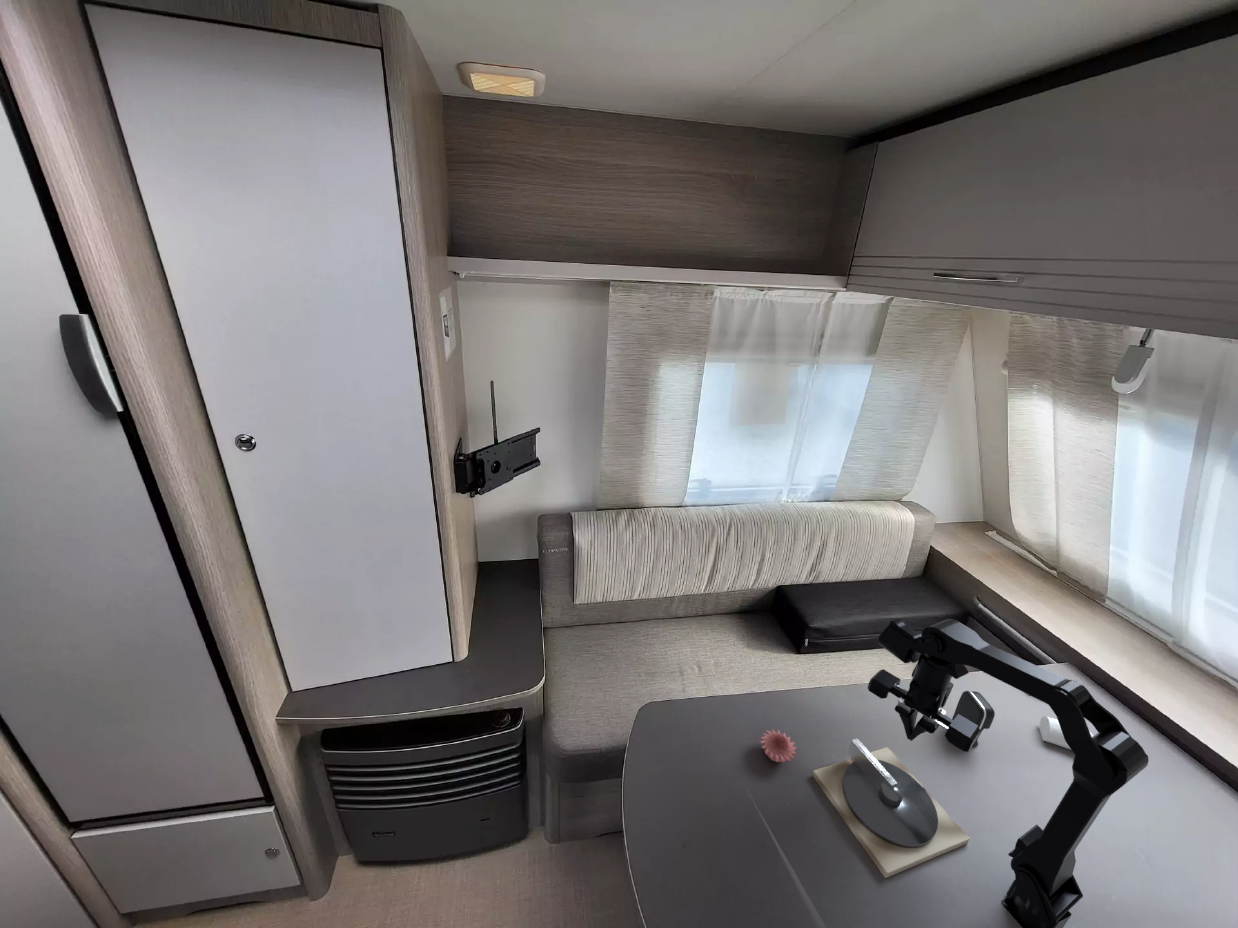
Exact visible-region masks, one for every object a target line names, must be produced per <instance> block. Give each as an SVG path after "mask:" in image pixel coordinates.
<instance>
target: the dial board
mask: <svg viewBox="0 0 1238 928" xmlns="http://www.w3.org/2000/svg"><path fill="white" fill-rule="evenodd" d="M869 752H870V753H871V754H872V755H873V756H874V757H875V758H876V759H877V760H881V761H884V762H887V763H890V764H892V765H894V766H896V767H898V768H900V769H901V770H903V771H905V772H906V773H907V774H909V775H910V776H911V777H912V778H914V779H915V780H916V781H917V782H918V783H919V784H920V785H921V786H922V787H923V789H924V790H925V791H926V792H927V794H928V795H929V797H930V798H931V800H932V802H933V804H934V806H935V809H936V811H937V816H938V828H937V831H936V833H935V835H934V837H933V839H932V840H931V841H930V842H929V843H928V844H926V845H925V846H922V847H918V848H905V847H900V846H896V845H894V844H891V843H889V842H886V841H884V840H882V839H881V838H879V837H878V836H876V835H875V834H873V833H872V832H870V831H869V830H868V829H867V828H866V827H865V826H864V825H863V824H862V823H861V822H860V821H859V820H858V819H857V818H856V817H855V815H854V814H853V813H852V811H851V810H850V808H849V806H848V804H847V802H846V800H845V797H844V794H843V789H842V781H843V777H844V774H845V771H846V769H847V767H848V766H849V765H850V764H851V763H853V762H854V761H853V760H852V758H851V757H850V758H849V759H846V760H843V761H839V762H837V763H833V764H830V765H827V766H824V767H820V768H816V769H814V770H812V771H813V772H812V775H811V776H812V777H813V779H814V780H815V782H816V783H817V785H818V786H819V787H820V789H821V790H822V792H823V793H824V794H825V796H826V797H827V799H828V801H830V803H831V804H832V805H833V807H834V809H835V810H836V811H837V813H838V814H839V815H840V817H841V818H842V820H843V821H844V823H845V824H846V825H847V827H848V828H849V829H850V831H851V832H852V833H853V835H854V836H855V839H857V840H858V842H859V843H860V845H861V846H862V847H863V849H864V850H865V851H866V853H867V855H868V856H869V857H870V859H871V860H872V861H873V864H874V865H875V866H876V867H877V869H878V870H879V872H880V873H881V875H882V876H883V877H884V879H887V878H889V877H892V876H895V875H896V874H898V873H901V872H903V871H906V870H908V869H911V868H913V867H915V866H918V865H921V864H923V863H924V862H927V861H930V860H932V859H935V858H937V857H939V856H942V855H943V854H945V853H946V854H947V853H948V852H951V851H953V850H955V849H958V848H961V847H962V846H965V845H967V844H968V843H969V841H970V839H971V838H970V837H969V835H967V834H966V832H965V831H963V829H962V828H961V827H960V826H959V825H958V823H956V821H955V820H954V819H953V818H952V817H951V816H950V814H948V812H947V811H946V810H945V809H944V808H943V807H942V806H941V805H940V804H939V803H938V802H937V800H936V799H935V798H934V797H933V796H932V795H931V793H930V792H929V791H928V790H927V789H926V788H925V787H924V786H923V784H922V783H921V782H920V781H919V780H918V779H917V778H916V777H915V776H914V775H913V774H912V773H911V771H910V770H909V769H907V767H906V766H905V765H904V763H903V762H902V761H901V760H900V759H899V758H898V757H897V756H896V755H895V753H893V751H892V750H891V749H890V748H889V747H888V746H886V747H883V748H880V749H877V750H874V751H869Z"/></svg>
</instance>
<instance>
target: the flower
mask: <svg viewBox="0 0 1238 928" xmlns="http://www.w3.org/2000/svg"><path fill="white" fill-rule="evenodd" d="M771 731H772V732H771ZM771 731H770V730H768V729H766V732H767V733H764V732H762V735H763V736H760V737H759V738H760V739H762V740H761V741H760V742H759V743H760V744H763V745H762V746H761V749H763V752H764V753H765V755H766V756H767V757H768V759H770V760H771V761H773V762H776V763H780V762H781V763H786V761H788V762H792V759H796V757H795V755H797V754H798V752H796V751H795V750H796V749H797V748H798V747H797V746H794V745H795V741H791V736H788V737H787V735H786V733H785V732H783V734H782V733H781V732H780V730H779V729H777V732H776V731H775V730H774V729H773V728H772V729H771Z"/></svg>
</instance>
